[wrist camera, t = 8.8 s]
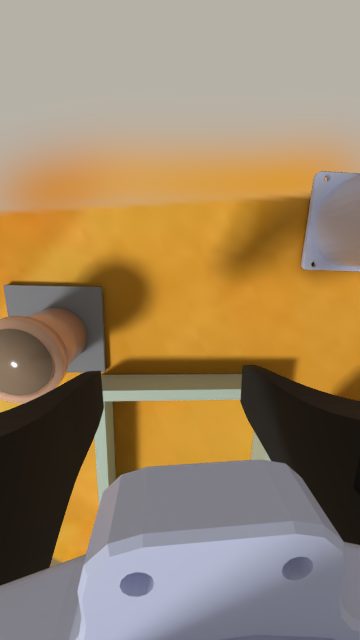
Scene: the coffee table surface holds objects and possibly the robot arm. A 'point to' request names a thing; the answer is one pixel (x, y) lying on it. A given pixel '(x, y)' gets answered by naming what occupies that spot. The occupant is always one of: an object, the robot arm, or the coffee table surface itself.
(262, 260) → the coffee table surface
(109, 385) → the frame
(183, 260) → the coffee table surface
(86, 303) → the slate pad
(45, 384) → the terracotta pot
